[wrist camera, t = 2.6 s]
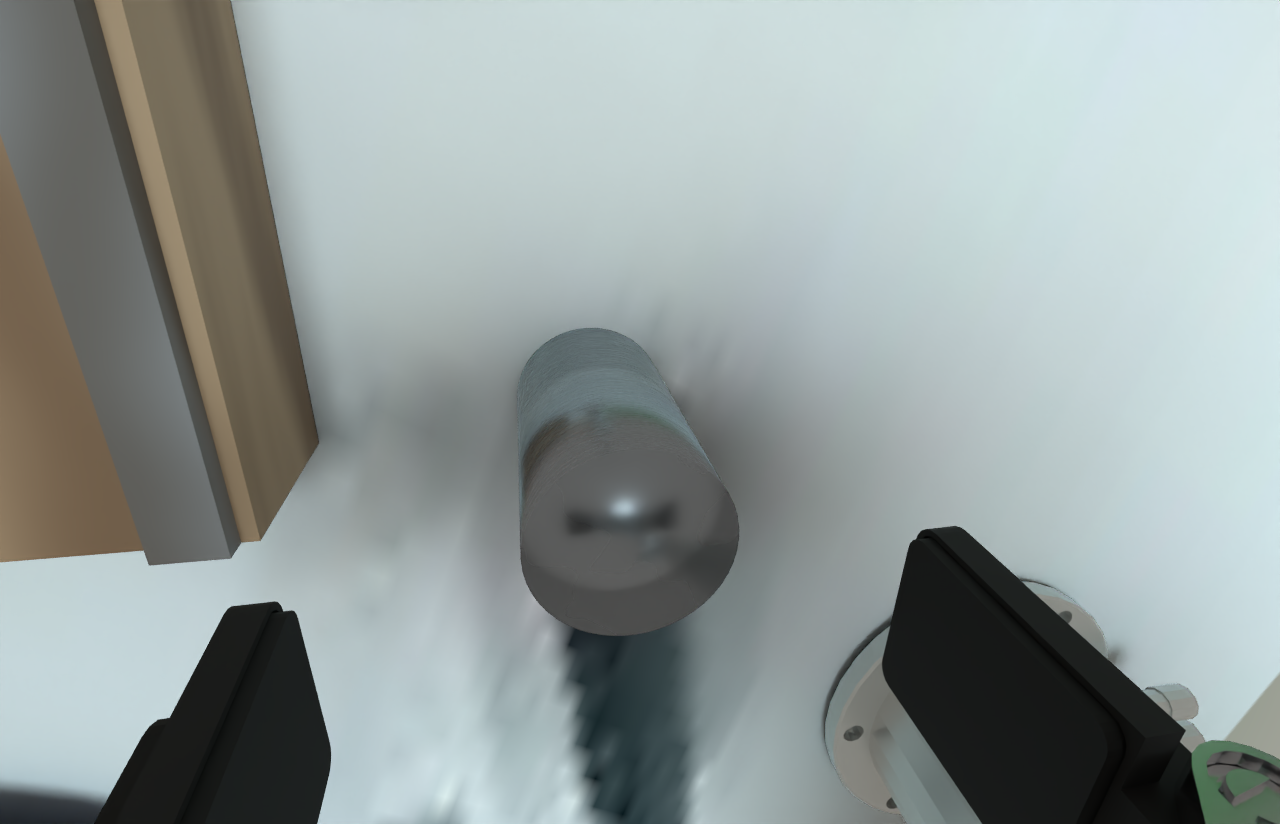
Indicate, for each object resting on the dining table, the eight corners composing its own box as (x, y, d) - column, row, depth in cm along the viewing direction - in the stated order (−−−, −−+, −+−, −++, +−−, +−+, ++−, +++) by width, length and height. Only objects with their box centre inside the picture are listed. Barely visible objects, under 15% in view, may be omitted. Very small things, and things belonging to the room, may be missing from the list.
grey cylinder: (661, 325, 20) (747, 442, 13) (657, 455, 22) (731, 623, 14) (513, 330, 19) (513, 458, 12) (521, 464, 21) (526, 646, 14)
